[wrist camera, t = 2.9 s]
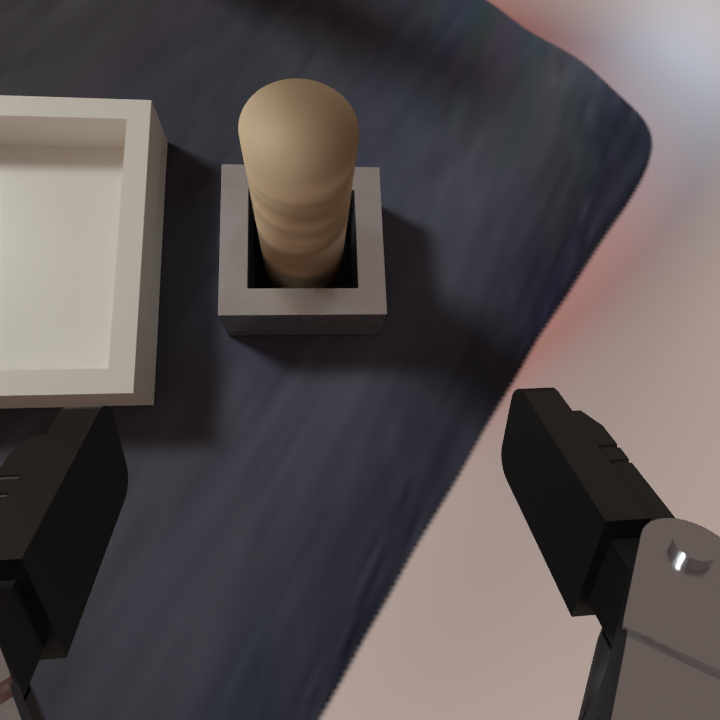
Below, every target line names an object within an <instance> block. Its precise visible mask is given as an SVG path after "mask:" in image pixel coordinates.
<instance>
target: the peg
mask: <svg viewBox="0 0 720 720" xmlns="http://www.w3.org/2000/svg"><path fill="white" fill-rule="evenodd" d="M238 132H239V138H240V144H241V149H242V154H243V159H244V164H245V169H246V174H247V180H248V185H249V190H250V195H251V200H252V205H253V210H254V215H255V221H256V226H257V231H258V236H259V241H260V246H261V251H262V257H263V262H264V267H265V272H266V276H267V278H268V280H269V282H270V284H271V285H272V287H273V288H333V287H334V286H335V285H336V283H337V281H338V279H339V276H340V272H341V265H342V258H343V251H344V243H345V236H346V229H347V221H348V214H349V207H350V200H351V192H352V185H353V178H354V170H355V163H356V156H357V149H358V141H359V125H358V120H357V117H356V115H355V112H354V111H353V109H352V107H351V106H350V104H349V103H348V101H347V100H346V99H345V98H344V97H343V96H342V95H341V94H339V93H338V92H337V91H335V90H334V89H332V88H331V87H329V86H327V85H325V84H322V83H319V82H317V81H313V80H308V79H285V80H280V81H277V82H274V83H271V84H269V85H267V86H265V87H263V88H261V89H260V90H258V91H257V92H256V93H255V94H254V95H253V96H252V97H251V98H250V99H249V100H248V101H247V103H246V104H245V106H244V108H243V110H242V112H241V115H240V118H239V125H238Z"/></svg>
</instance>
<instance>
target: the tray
mask: <svg viewBox="0 0 720 720" xmlns="http://www.w3.org/2000/svg"><path fill="white" fill-rule="evenodd" d="M166 160H167V139H166V136H165V134H164V131H163V129H162V126H161V124H160V121H159V119H158V116H157V114H156V111H155V109H154V106H153V104H152V101H151V100H127V99H96V98H64V97H33V96H2V95H0V409H4V408H47V407H79V406H103V405H106V406H133V405H154V391H155V372H156V352H157V333H158V314H159V295H160V276H161V256H162V237H163V218H164V199H165V180H166Z"/></svg>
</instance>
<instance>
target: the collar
mask: <svg viewBox="0 0 720 720" xmlns="http://www.w3.org/2000/svg"><path fill="white" fill-rule="evenodd" d="M347 222H350V247H351V273H352V288H263V289H254V233H255V215H254V210H253V205H252V200H251V195H250V190H249V185H248V180H247V174H246V169H245V165H233V164H222V171H221V212H220V253H219V294H218V316H219V318H220V320H221V322H222V324H223V326H224V328H225V330H226V332H227V334H228V336H236V335H328V334H379V331H380V329H381V327H382V324H383V322H384V320H385V318H386V315H387V304H386V285H385V267H384V248H383V229H382V211H381V192H380V174H379V167H355V170H354V178H353V185H352V192H351V200H350V207H349V214H348V221H347Z"/></svg>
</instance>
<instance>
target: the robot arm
mask: <svg viewBox="0 0 720 720" xmlns="http://www.w3.org/2000/svg"><path fill="white" fill-rule="evenodd" d="M501 453H502V454H501V456H502V466H503V470H504V474H505V477H506V479H507V481H508V483H509V486H510V488H511V490H512V492H513V494H514V496H515V498H516V500H517V502H518V504H519V506H520V509H521V511H522V512H523V515H524V517H525V519H526V521H527V523H528V525H529V528H530V530H531V531H532V534H533V536H534V538H535V540H536V542H537V544H538V547H539V549H540V551H541V553H542V555H543V557H544V559H545V561H546V563H547V566H548V568H549V570H550V572H551V574H552V576H553V578H554V580H555V582H556V585H557V587H558V589H559V591H560V593H561V595H562V597H563V599H564V601H565V603H566V605H567V608H568V610H569V612H570V614H571V616H572V617H574V616H585V615H596V616H597V618H598V620H599V622H600V624H601V626H602V629H601V632H600V634H599V637H598V640H597V645H596V648H595V653H594V657H593V661H592V665H591V669H590V673H589V677H588V681H587V685H586V690H585V694H584V698H583V702H582V706H581V710H580V715H579V718H578V720H720V537H719V536H717V535H716V534H714V533H713V532H711V531H709V530H708V529H706V528H704V527H702V526H699V525H697V524H694V523H692V522H688V521H686V520H681V519H676V518H675V517H674V516H673V515H672V513H671V512H670V511H669V509H668V508H667V507H666V506H665V504H664V503H663V502H662V501H661V499H660V498H659V497H658V496H657V494H656V493H655V492H654V491H653V489H652V488H651V487H650V485H649V484H648V483H647V482H646V480H645V479H644V478H643V476H642V475H641V474H640V473H639V471H638V470H637V469H636V468H635V466H634V465H633V464H632V463H629V459H628V458H627V456H626V455H625V454H624V452H623V451H622V450H621V449H620V448H617V444H616V442H615V441H614V440H613V438H612V437H611V436H610V435H609V433H608V432H607V431H606V429H605V428H604V427H603V426H602V425H601V424H599V423H598V422H596V421H595V420H594V419H592V418H591V417H589V416H588V415H586V414H585V413H583V412H582V411H572V410H571V408H570V407H569V406H568V404H567V403H566V402H565V400H564V399H563V398H562V396H561V395H560V394H559V392H558V391H557V390H556V389H555V388H534V389H517V390H515V392H514V393H513V395H512V400H511V404H510V409H509V414H508V419H507V424H506V429H505V434H504V440H503V444H502V452H501ZM127 486H128V471H127V465H126V461H125V457H124V454H123V450H122V446H121V442H120V439H119V435H118V431H117V427H116V424H115V420H114V416H113V413H112V411H111V409H110V408H109V407H108V406H106V405H103V406H79V407H65V408H63V409H62V410H61V411H60V412H59V414H58V415H57V417H56V419H55V420H54V422H53V423H52V425H51V427H50V428H49V430H48V431H47V433H46V434H44V435H33V436H32V437H31V438H29V439H28V440H27V441H26V442H24V443H23V444H22V445H20V446H19V447H18V448H17V449H15V450H14V451H13V452H12V453H10V454H9V456H8V457H7V458H6V460H5V461H4V463H3V464H2V466H1V467H0V720H45V717H44V715H43V712H42V710H41V707H40V705H39V702H38V700H37V697H36V695H35V692H34V690H33V688H32V686H31V684H30V681H31V679H32V676H33V674H34V671H35V669H36V666H37V664H38V662H39V660H43V659H54V658H66V657H67V655H68V652H69V649H70V647H71V644H72V641H73V638H74V636H75V633H76V630H77V628H78V625H79V622H80V619H81V617H82V614H83V611H84V609H85V606H86V603H87V600H88V598H89V595H90V592H91V590H92V587H93V584H94V582H95V579H96V576H97V573H98V571H99V568H100V565H101V563H102V560H103V557H104V554H105V552H106V549H107V546H108V544H109V541H110V538H111V535H112V533H113V530H114V527H115V525H116V522H117V519H118V517H119V514H120V511H121V508H122V506H123V503H124V500H125V497H126V493H127Z"/></svg>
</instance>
